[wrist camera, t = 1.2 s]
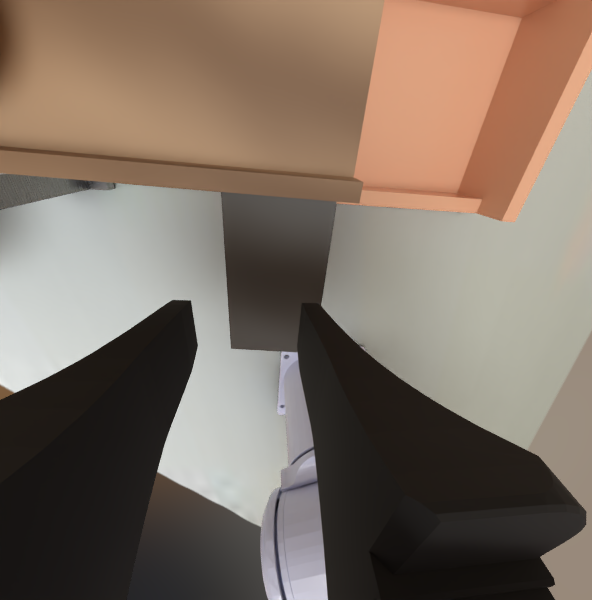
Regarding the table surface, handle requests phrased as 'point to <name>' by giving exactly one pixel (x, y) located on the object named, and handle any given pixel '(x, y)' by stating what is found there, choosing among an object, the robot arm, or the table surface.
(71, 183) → the pivot stand
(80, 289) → the table surface
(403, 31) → the tray
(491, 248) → the table surface
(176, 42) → the tipping chute
